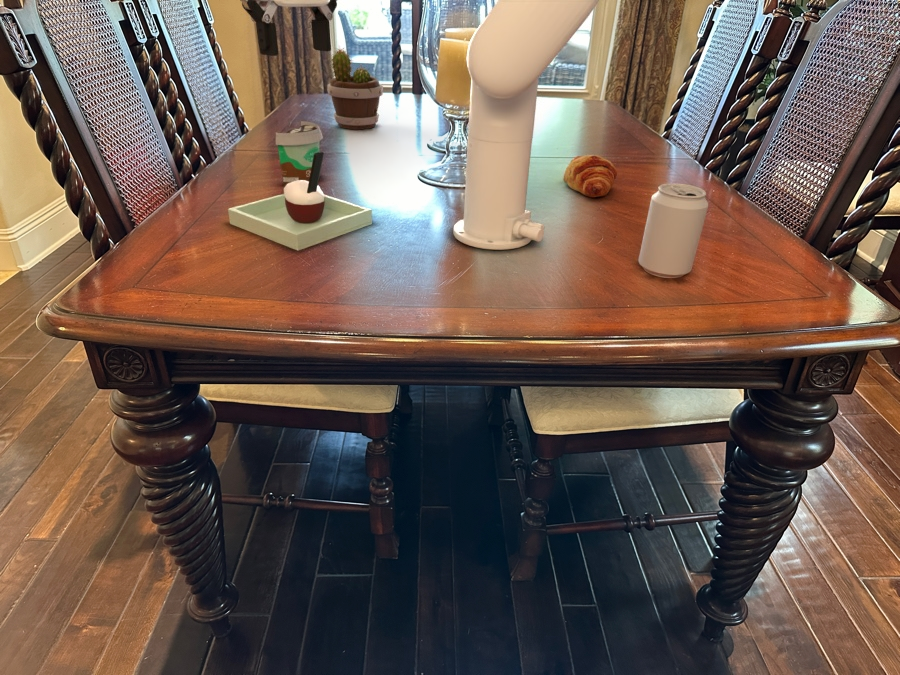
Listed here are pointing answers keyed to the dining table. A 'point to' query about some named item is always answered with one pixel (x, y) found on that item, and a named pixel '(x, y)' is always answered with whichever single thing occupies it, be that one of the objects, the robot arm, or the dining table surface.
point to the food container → (298, 151)
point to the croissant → (590, 175)
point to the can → (673, 230)
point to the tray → (281, 228)
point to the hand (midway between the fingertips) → (296, 52)
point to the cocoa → (306, 195)
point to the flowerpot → (353, 94)
